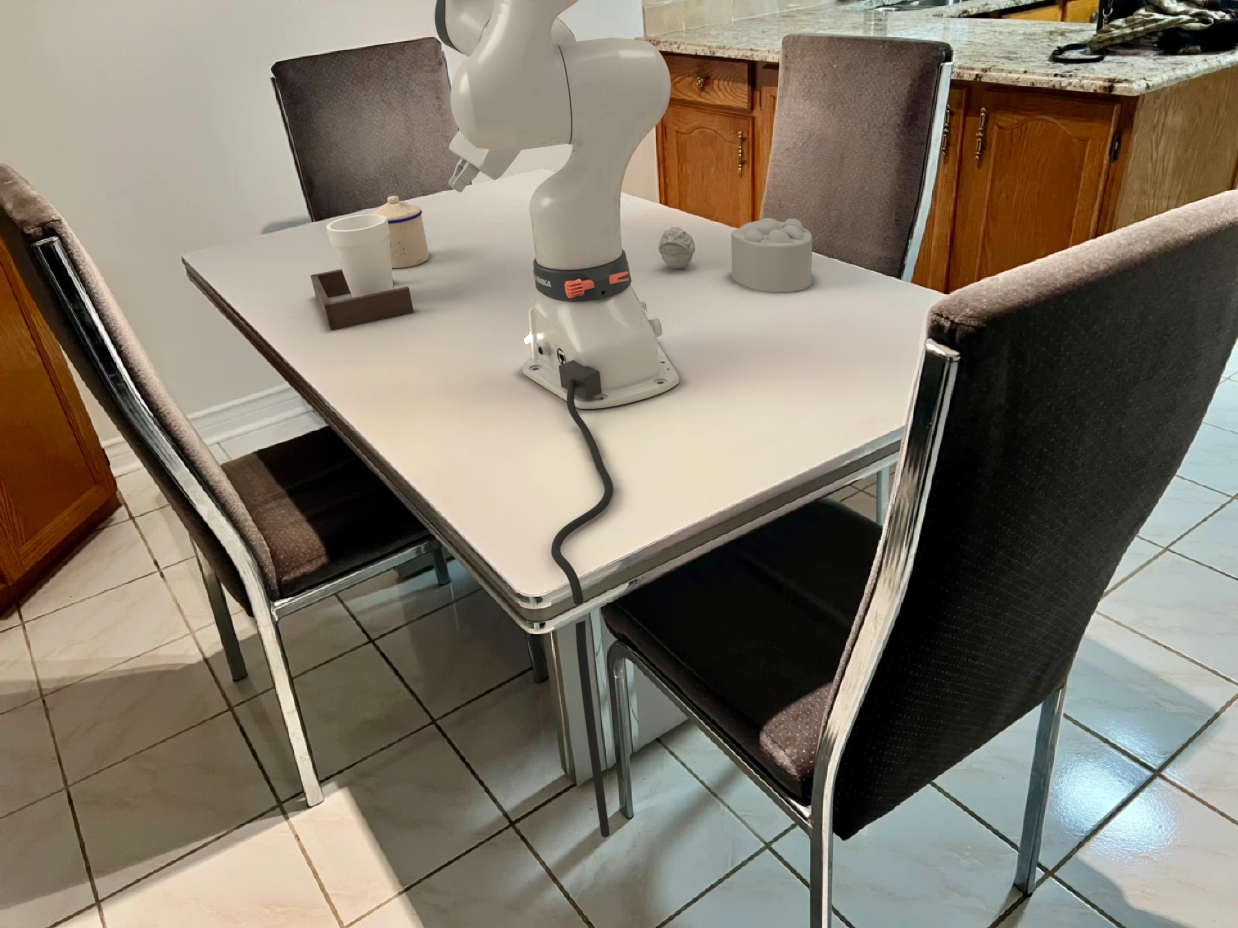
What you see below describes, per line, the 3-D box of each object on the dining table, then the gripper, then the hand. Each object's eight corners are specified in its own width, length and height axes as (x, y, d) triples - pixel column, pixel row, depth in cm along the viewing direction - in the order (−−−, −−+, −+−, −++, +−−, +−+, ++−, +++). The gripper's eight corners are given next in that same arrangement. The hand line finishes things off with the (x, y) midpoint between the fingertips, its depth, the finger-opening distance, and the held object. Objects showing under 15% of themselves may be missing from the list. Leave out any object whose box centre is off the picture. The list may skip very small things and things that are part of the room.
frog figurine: (654, 274, 153) (651, 232, 150) (666, 260, 159) (663, 219, 155) (690, 276, 151) (688, 233, 148) (701, 261, 157) (699, 220, 154)
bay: (414, 312, 148) (409, 287, 146) (330, 330, 144) (324, 305, 142) (392, 282, 161) (388, 259, 159) (316, 297, 157) (310, 275, 155)
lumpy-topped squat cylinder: (775, 261, 154) (775, 209, 150) (828, 281, 144) (830, 225, 140) (723, 276, 150) (721, 223, 145) (774, 298, 140) (774, 241, 135)
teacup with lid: (425, 249, 176) (413, 187, 170) (435, 262, 169) (423, 197, 163) (361, 262, 173) (346, 198, 167) (368, 275, 165) (353, 210, 159)
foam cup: (342, 298, 156) (323, 220, 150) (397, 287, 159) (381, 210, 152) (349, 316, 148) (330, 235, 142) (407, 304, 151) (391, 224, 144)
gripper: (470, 95, 155) (423, 165, 157) (506, 110, 138) (453, 188, 140) (500, 119, 158) (453, 188, 160) (539, 136, 142) (486, 213, 143)
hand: (453, 188), depth 150 cm, fingers closed
